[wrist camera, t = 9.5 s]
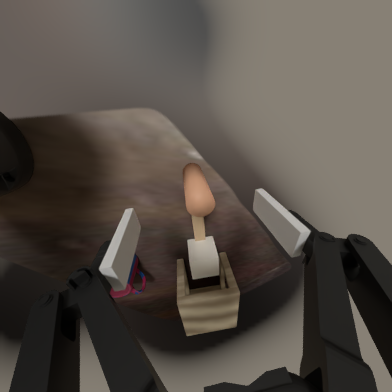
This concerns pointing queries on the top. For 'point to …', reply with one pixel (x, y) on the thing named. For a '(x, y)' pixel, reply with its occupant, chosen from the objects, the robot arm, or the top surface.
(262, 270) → the top surface
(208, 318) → the wooden holder
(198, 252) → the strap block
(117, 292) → the mug
